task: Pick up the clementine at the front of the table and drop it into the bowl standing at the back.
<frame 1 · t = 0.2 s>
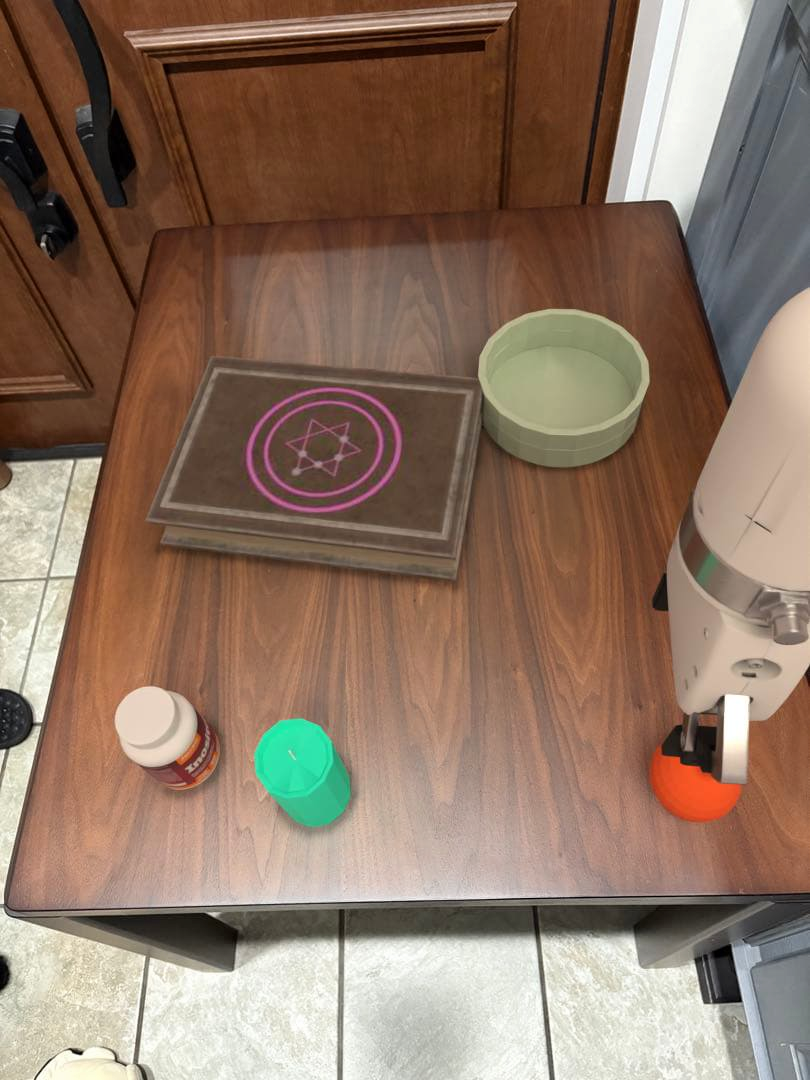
hand: (681, 676, 50), 20 cm above the table, tool pointing down, fingers open, 9 cm apart
pill bottle: (188, 756, 70), on the table
candle: (317, 791, 68), on the table
bowl: (557, 403, 88), on the table
book: (329, 474, 85), on the table, touching bowl
clementine: (687, 782, 66), on the table
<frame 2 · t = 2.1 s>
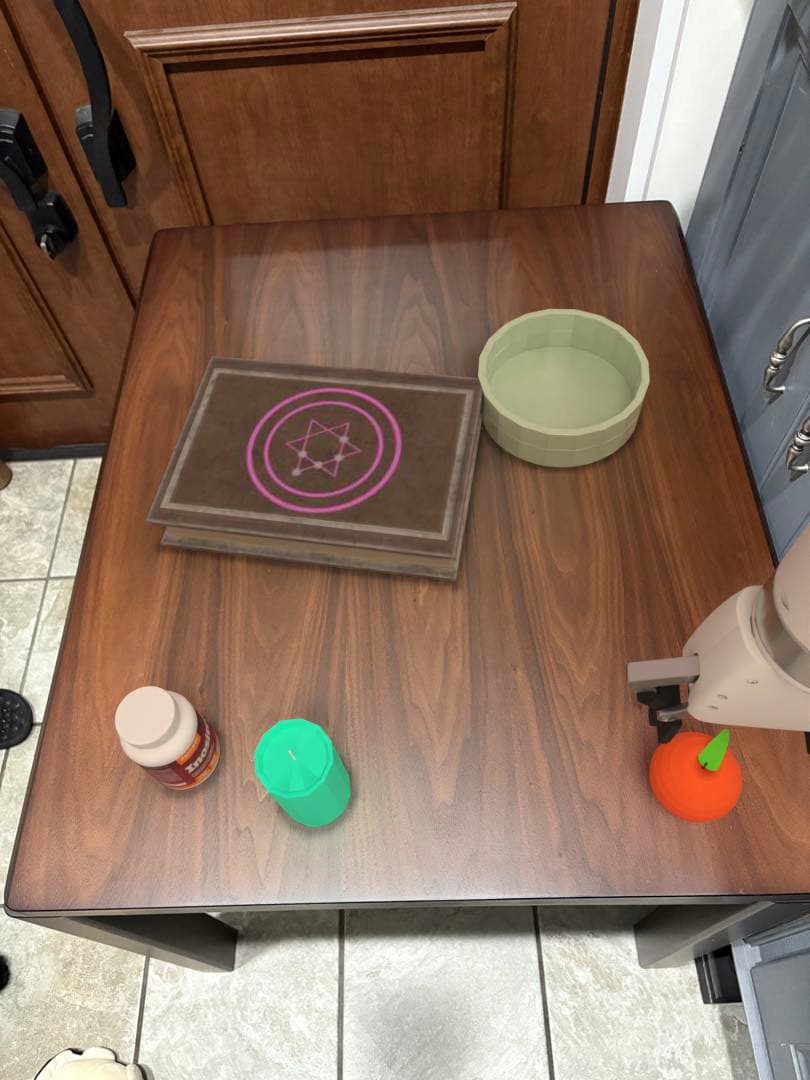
hand: (734, 728, 53), 15 cm above the table, tool pointing down, fingers open, 9 cm apart
book: (330, 474, 85), on the table, touching bowl
everything else where it was.
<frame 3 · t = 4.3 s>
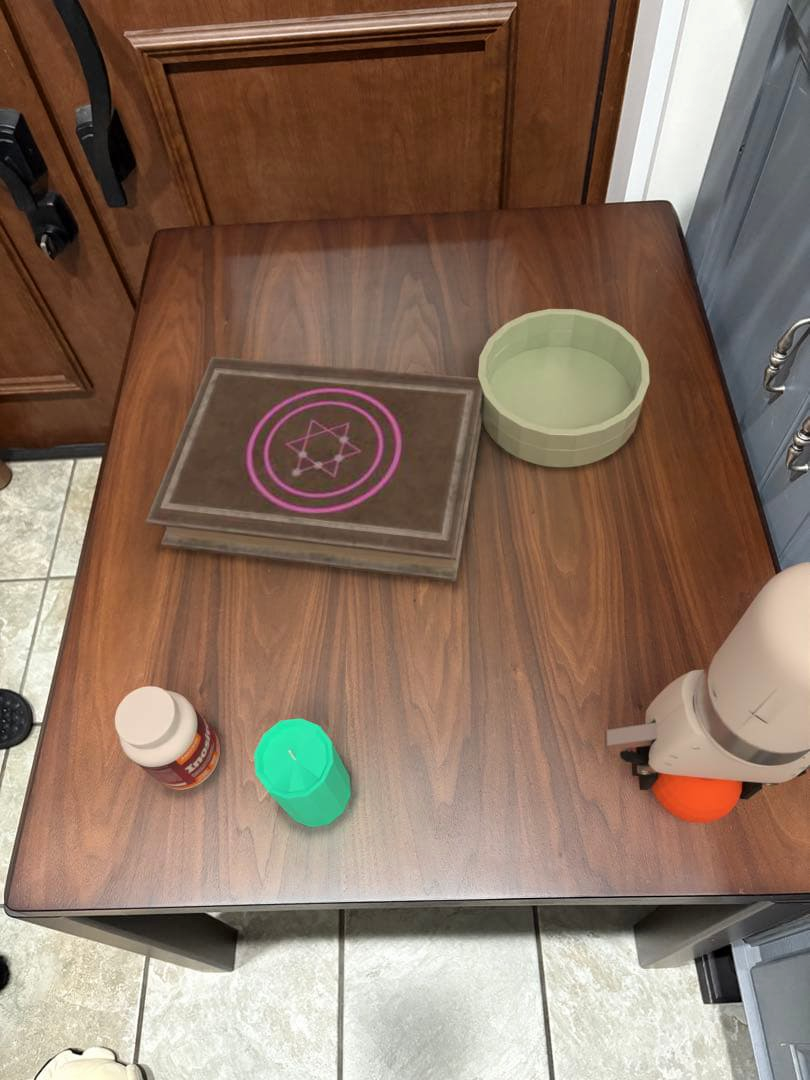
hand: (691, 775, 64), 2 cm above the table, tool pointing down, fingers closed on clementine, 7 cm apart
clementine: (687, 782, 66), on the table, touching gripper
everything else where it was.
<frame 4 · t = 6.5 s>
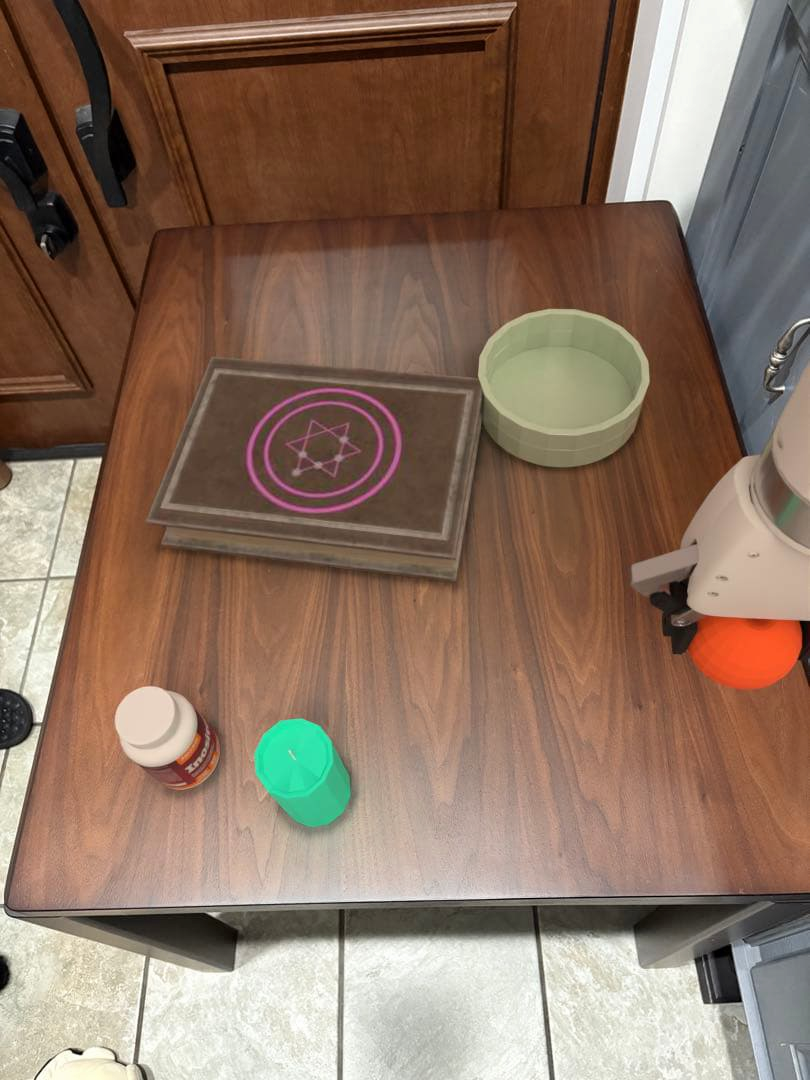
hand: (735, 635, 52), 19 cm above the table, tool pointing down, fingers closed on clementine, 7 cm apart
clementine: (730, 650, 54), point 17 cm above the table, touching gripper
everything else where it was.
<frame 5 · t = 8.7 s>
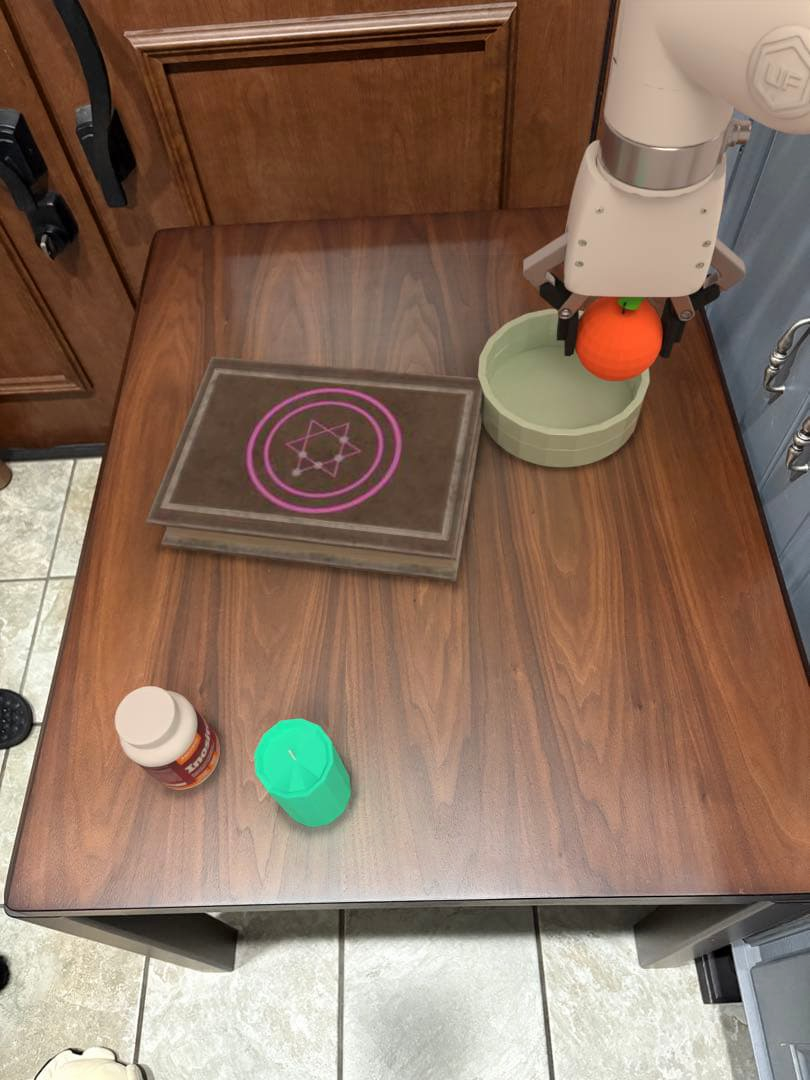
hand: (615, 343, 65), 20 cm above the table, tool pointing down, fingers closed on clementine, 7 cm apart
clementine: (614, 365, 67), point 17 cm above the table, touching gripper
everything else where it was.
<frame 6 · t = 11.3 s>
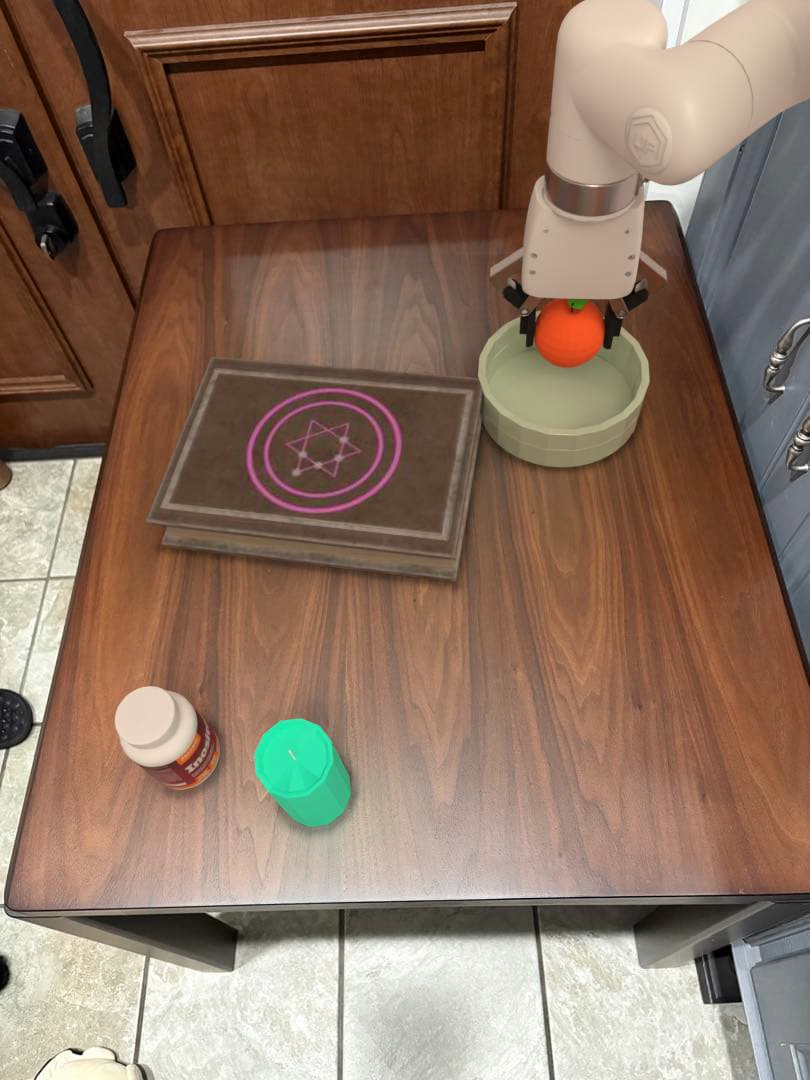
hand: (567, 337, 79), 10 cm above the table, tool pointing down, fingers closed on clementine, 7 cm apart
clementine: (568, 355, 81), point 8 cm above the table, touching gripper
everything else where it was.
when the fingers open (6 cm above the table, at t = 13.2 s): clementine drops 3 cm, resting on bowl.
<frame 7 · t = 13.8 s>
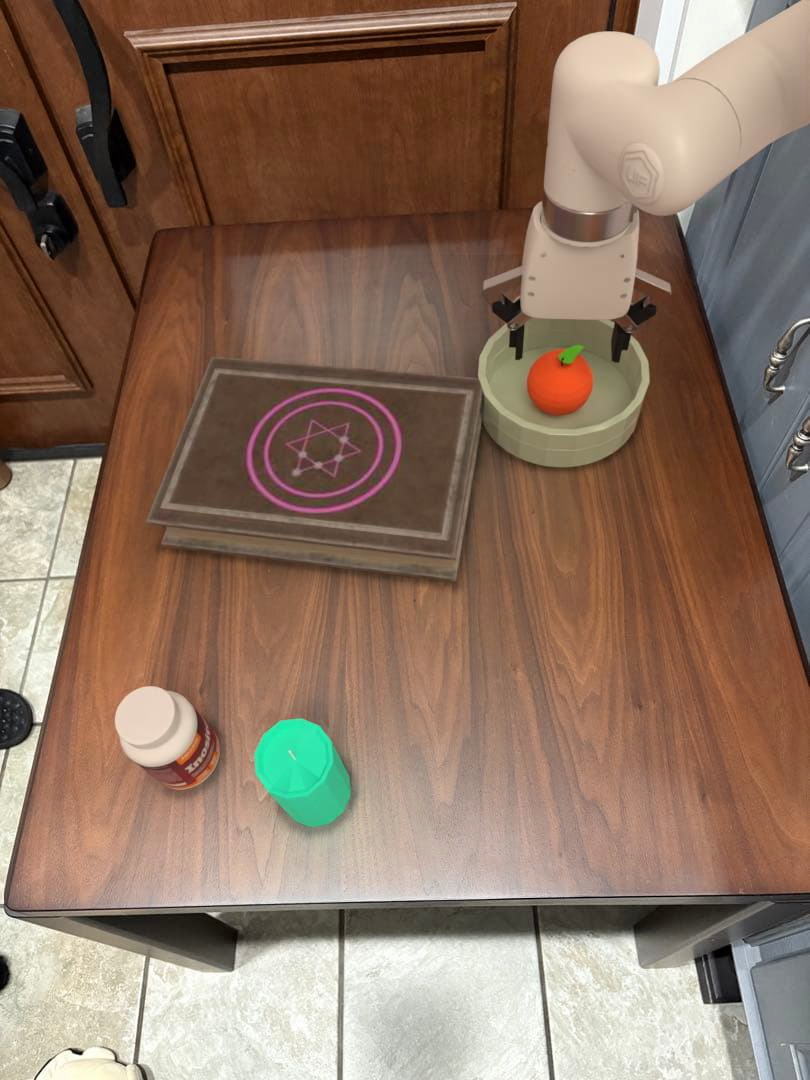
hand: (566, 351, 81), 8 cm above the table, tool pointing down, fingers open, 9 cm apart
clementine: (559, 402, 87), resting on bowl
everything else where it was.
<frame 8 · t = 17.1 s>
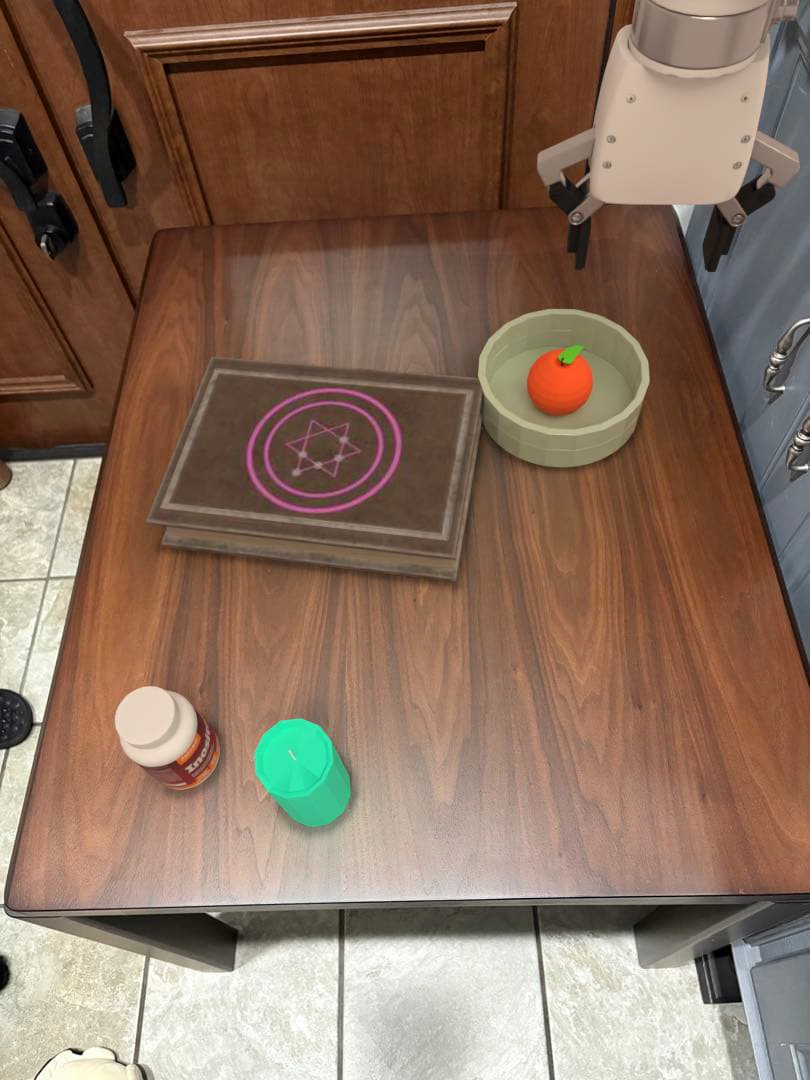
hand: (643, 258, 61), 26 cm above the table, tool pointing down, fingers open, 9 cm apart
nothing on the table moved.
at the end: clementine inside the target area in the bowl (0.2 cm from its centre), point 0.3 cm above the bowl's base; the gripper is holding nothing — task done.
